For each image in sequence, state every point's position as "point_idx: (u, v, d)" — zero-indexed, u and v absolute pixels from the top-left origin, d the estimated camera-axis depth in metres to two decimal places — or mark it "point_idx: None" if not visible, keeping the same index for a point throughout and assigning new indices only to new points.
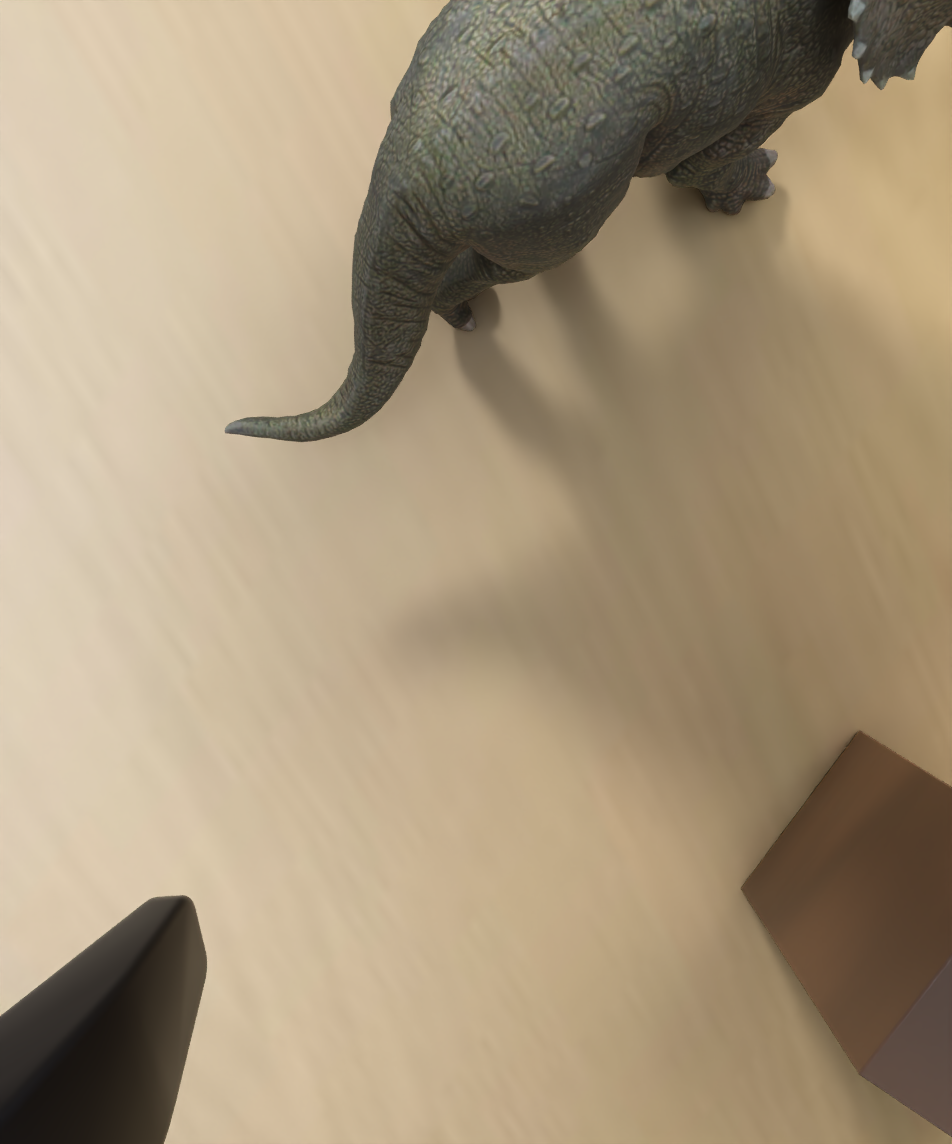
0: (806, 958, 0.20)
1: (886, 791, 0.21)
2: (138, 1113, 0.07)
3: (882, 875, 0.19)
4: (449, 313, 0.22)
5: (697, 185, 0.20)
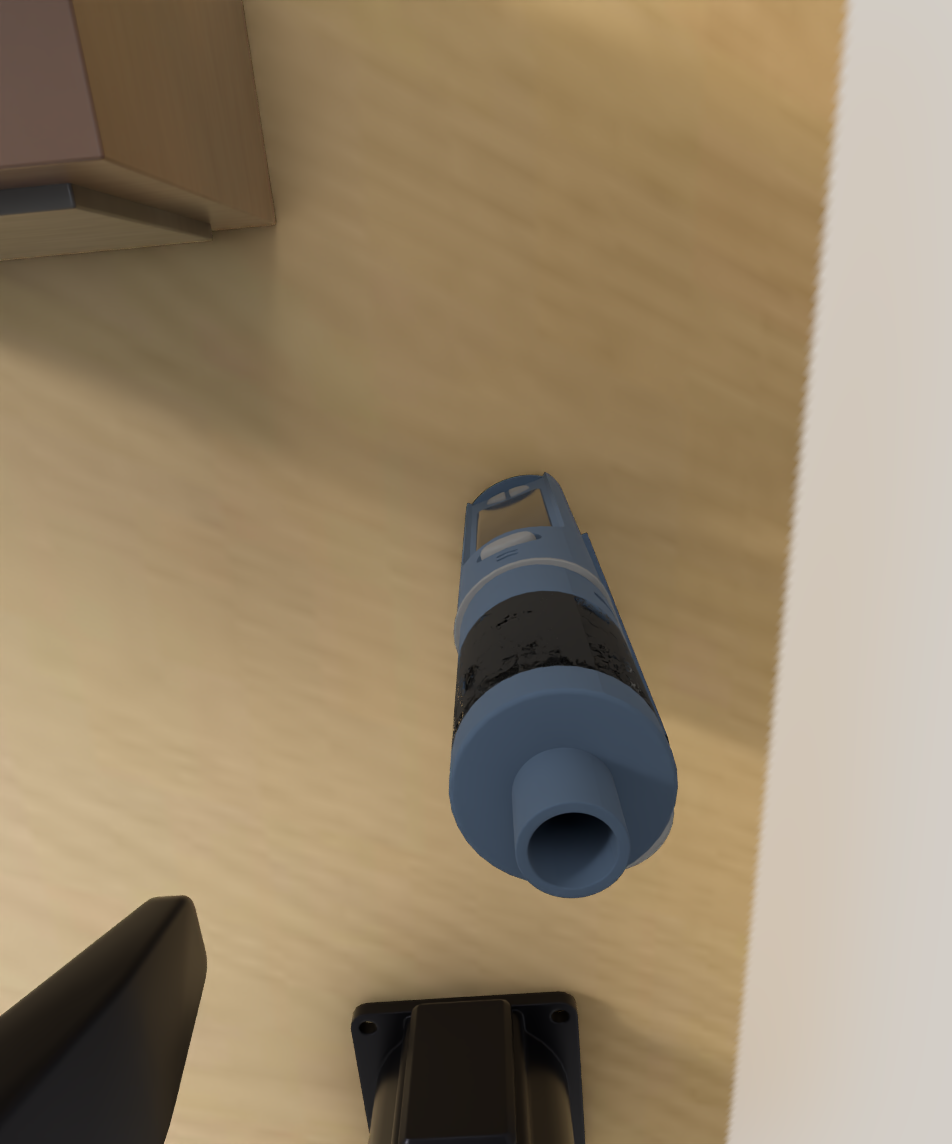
0: None
1: None
2: (138, 1113, 0.07)
3: None
4: None
5: None
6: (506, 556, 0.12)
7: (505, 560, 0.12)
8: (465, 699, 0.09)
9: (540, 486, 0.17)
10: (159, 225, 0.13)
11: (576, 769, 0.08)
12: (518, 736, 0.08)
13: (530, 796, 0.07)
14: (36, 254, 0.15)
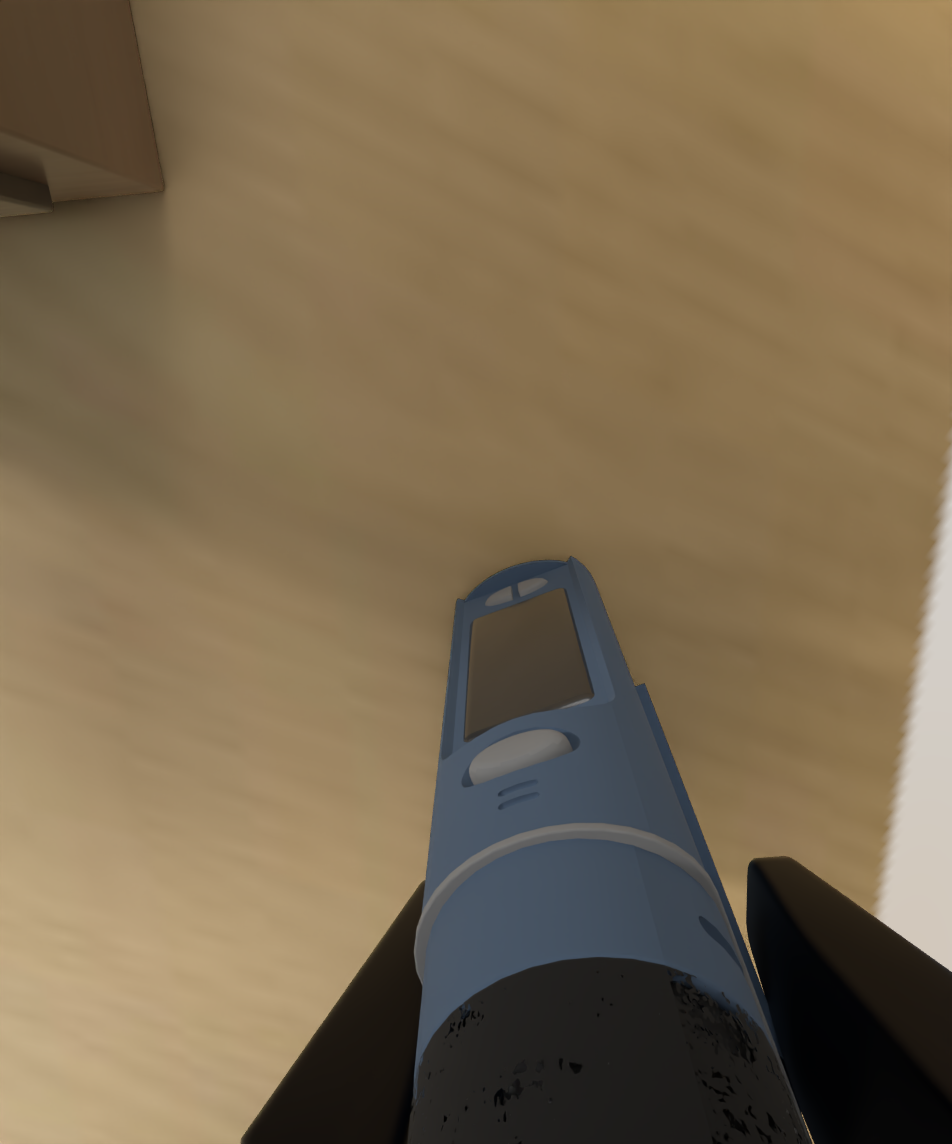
0: None
1: None
2: None
3: None
4: None
5: None
6: (516, 799, 0.06)
7: (515, 812, 0.06)
8: None
9: (565, 583, 0.12)
10: None
11: None
12: None
13: None
14: None
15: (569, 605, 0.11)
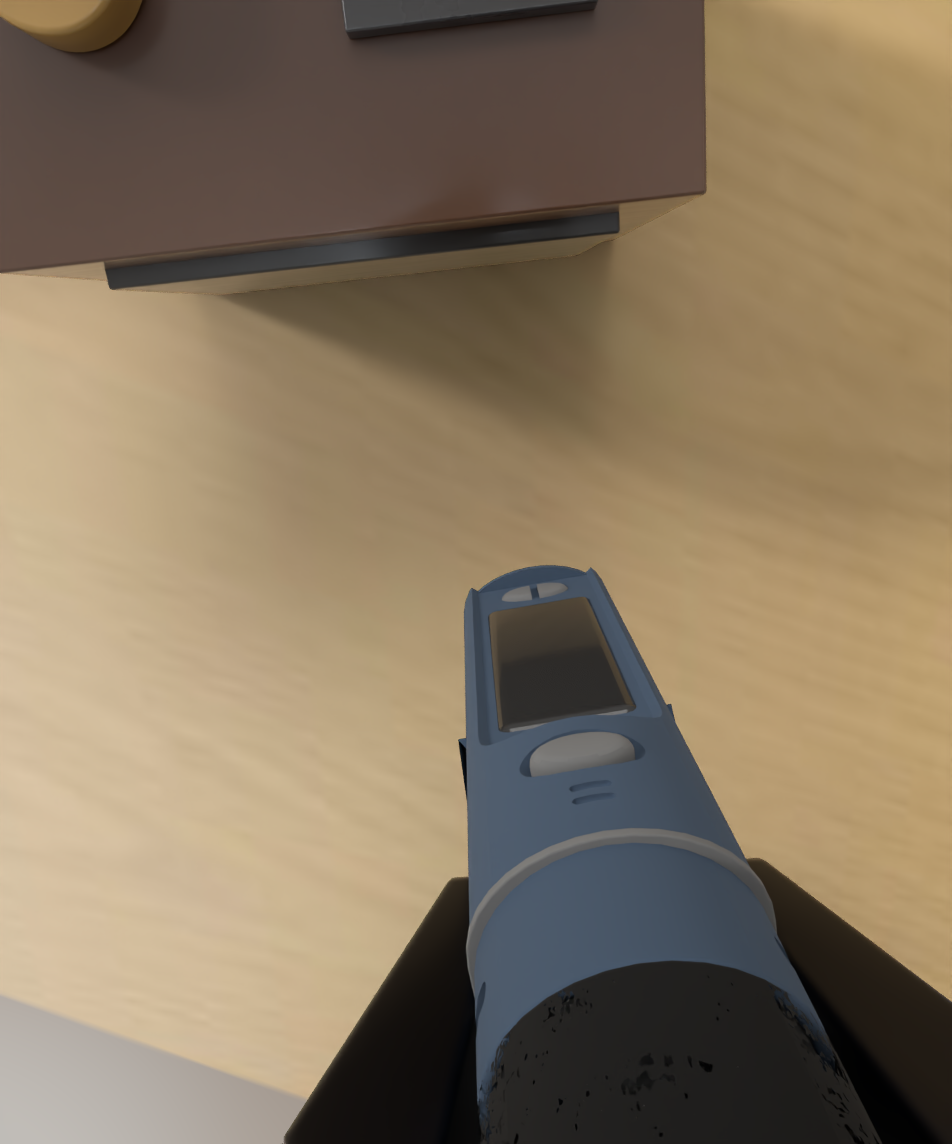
0: None
1: None
2: None
3: None
4: None
5: None
6: (592, 797, 0.06)
7: (591, 809, 0.06)
8: None
9: (586, 592, 0.12)
10: None
11: None
12: None
13: None
14: (429, 270, 0.17)
15: (595, 615, 0.11)
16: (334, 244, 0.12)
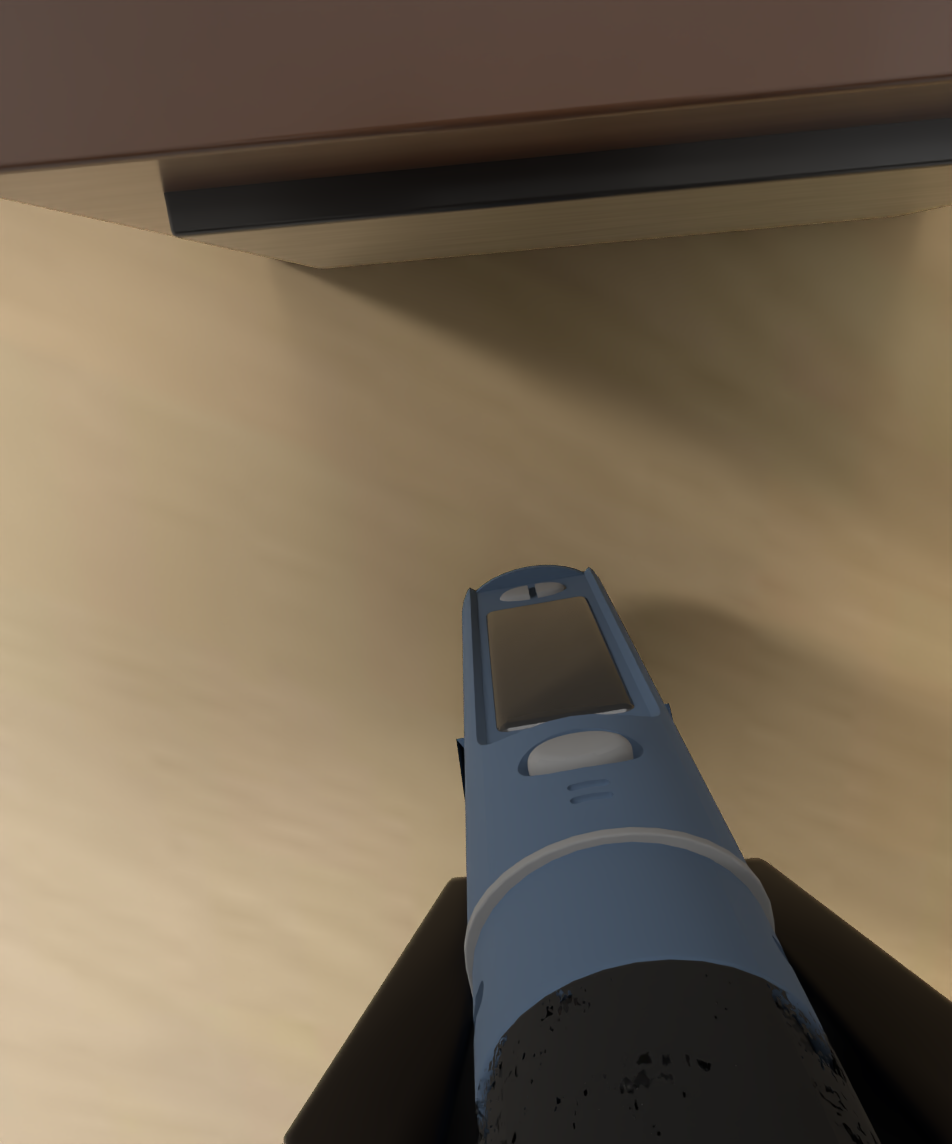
0: None
1: None
2: None
3: None
4: None
5: None
6: (590, 796, 0.06)
7: (589, 808, 0.06)
8: None
9: (584, 592, 0.12)
10: None
11: None
12: None
13: None
14: (670, 234, 0.10)
15: (594, 615, 0.11)
16: (672, 145, 0.06)
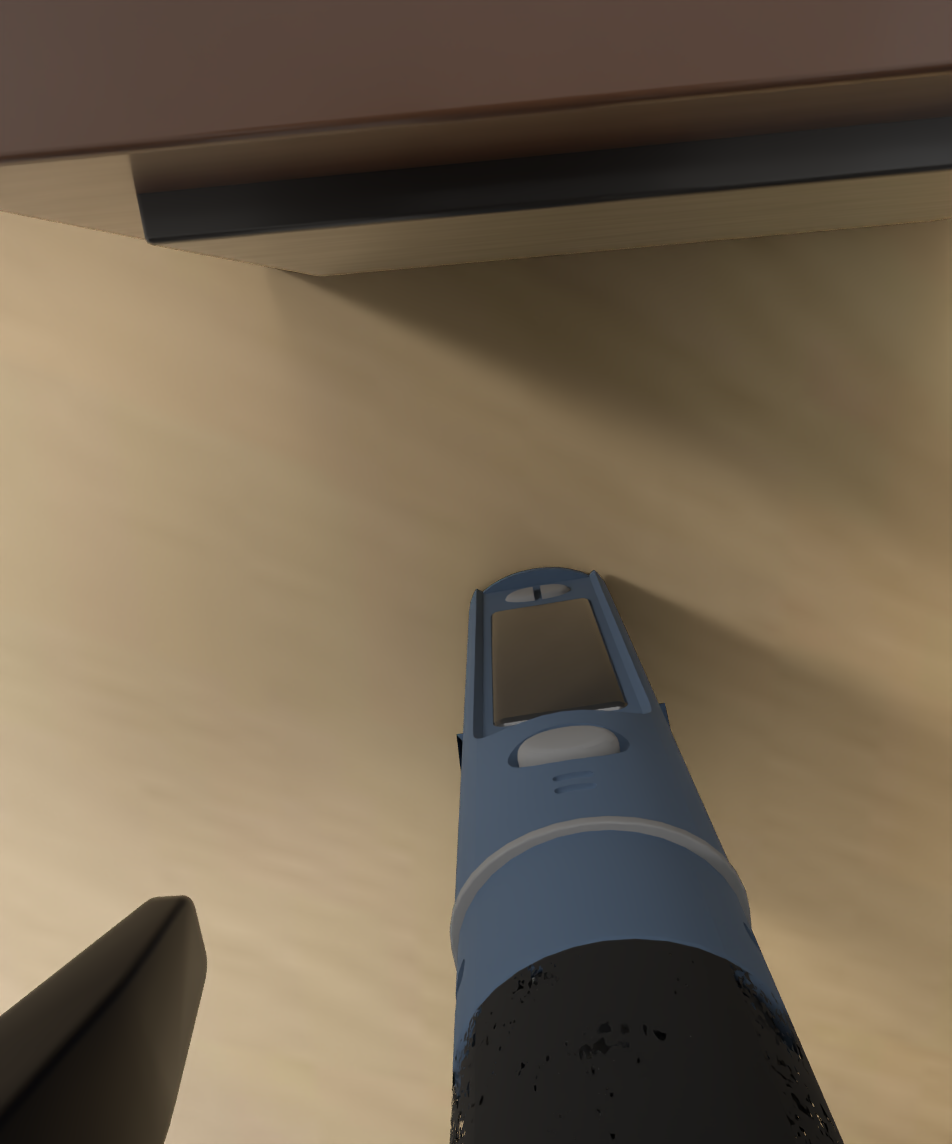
0: None
1: None
2: (138, 1112, 0.07)
3: None
4: None
5: None
6: (573, 786, 0.07)
7: (572, 798, 0.06)
8: None
9: (588, 594, 0.12)
10: None
11: None
12: None
13: None
14: (692, 240, 0.10)
15: (595, 616, 0.11)
16: (714, 140, 0.05)
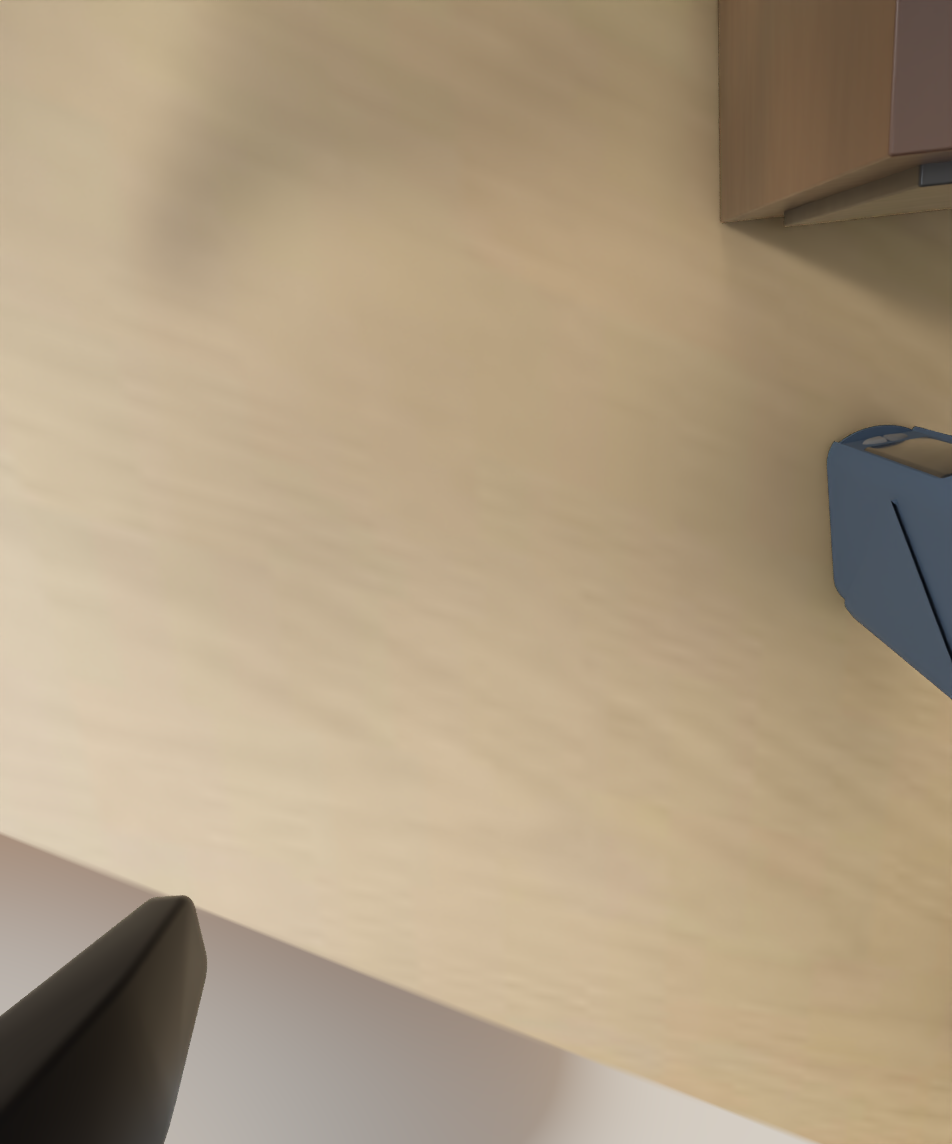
0: (791, 163, 0.14)
1: None
2: (138, 1113, 0.07)
3: None
4: None
5: None
6: None
7: None
8: None
9: (925, 436, 0.18)
10: None
11: None
12: None
13: None
14: None
15: (946, 441, 0.17)
16: None
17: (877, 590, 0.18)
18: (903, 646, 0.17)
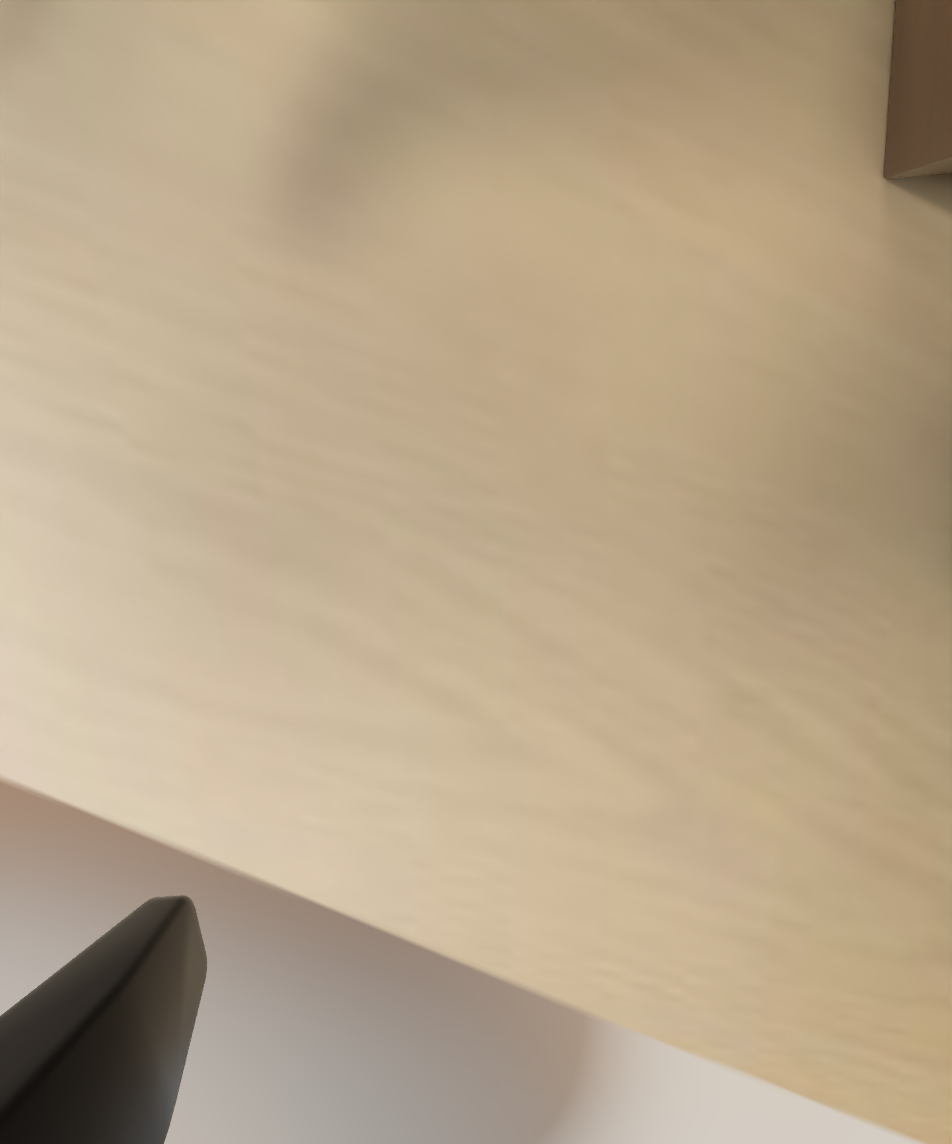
0: None
1: None
2: (138, 1113, 0.07)
3: None
4: None
5: None
6: None
7: None
8: None
9: None
10: None
11: None
12: None
13: None
14: None
15: None
16: None
17: None
18: None
